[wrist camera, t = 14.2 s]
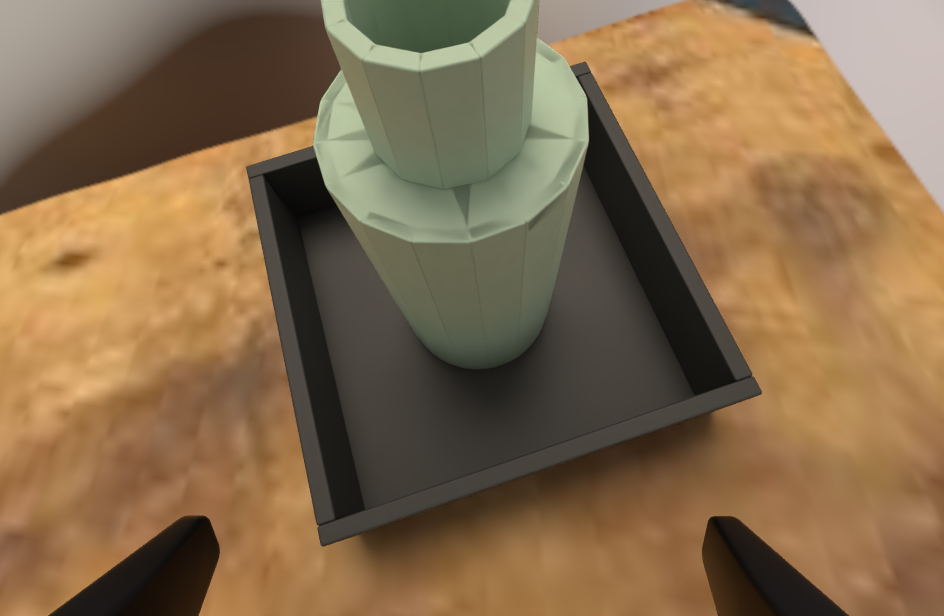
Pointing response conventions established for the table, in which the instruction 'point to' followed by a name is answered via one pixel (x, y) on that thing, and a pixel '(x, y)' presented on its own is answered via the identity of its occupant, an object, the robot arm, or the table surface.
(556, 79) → the bottle
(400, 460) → the bin
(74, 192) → the table surface
